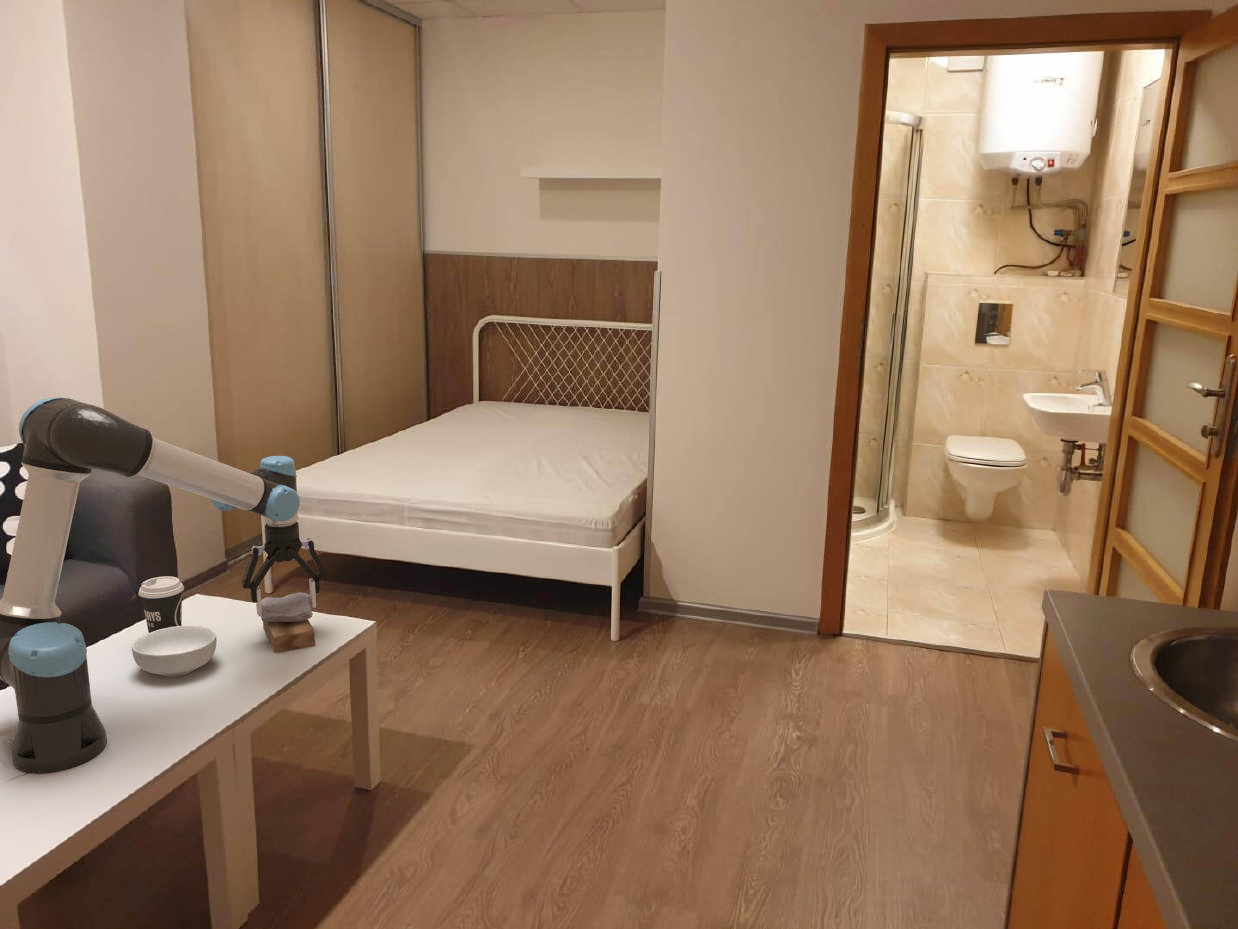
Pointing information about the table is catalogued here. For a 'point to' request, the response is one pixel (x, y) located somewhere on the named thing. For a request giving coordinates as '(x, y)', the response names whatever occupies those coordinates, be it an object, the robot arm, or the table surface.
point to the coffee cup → (162, 602)
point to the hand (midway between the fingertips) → (286, 610)
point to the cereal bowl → (174, 650)
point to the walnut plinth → (289, 635)
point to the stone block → (286, 608)
